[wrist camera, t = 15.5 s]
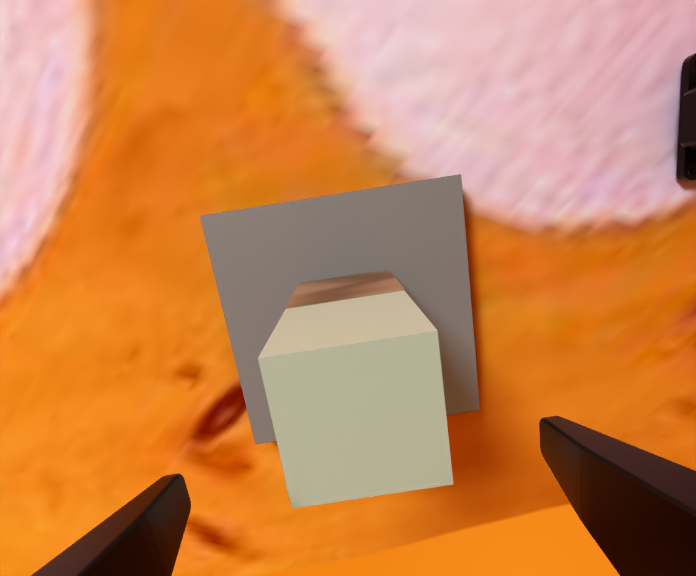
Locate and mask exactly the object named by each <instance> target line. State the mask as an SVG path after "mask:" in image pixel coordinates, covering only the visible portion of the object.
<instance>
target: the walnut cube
mask: <svg viewBox="0 0 696 576" xmlns="http://www.w3.org/2000/svg"><path fill="white" fill-rule="evenodd" d="M398 291H404V288H403V286H402V285H401V284H400V283H399V282H398V281H397V279H396V278H395V277H394V276H393V275H392V273H391V272H390V271H389V270H388V269H386V270H379V271H373V272H366V273H360V274H354V275H347V276H341V277H334V278H328V279H322V280H315V281H309V282H303V283H299V284H298V286H297V288H296V289H295V291H294V293H293V295H292V296H291V298H290V300H289V301H288V303H287V305H286V307H285V308H286V309H288V308H295V307H301V306H308V305H314V304H320V303H327V302H333V301H340V300H346V299H353V298H359V297H365V296H372V295H378V294H385V293H391V292H398Z"/></svg>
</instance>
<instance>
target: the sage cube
mask: <svg viewBox="0 0 696 576" xmlns="http://www.w3.org/2000/svg"><path fill="white" fill-rule="evenodd" d="M258 361H259V366H260V370H261V374H262V379H263V383H264V388H265V392H266V396H267V401H268V405H269V410H270V414H271V419H272V423H273V427H274V432H275V436H276V441H277V445H278V449H279V454H280V458H281V463H282V467H283V472H284V476H285V480H286V485H287V489H288V494H289V498H290V502H291V507H292V508H299V507H305V506H312V505H319V504H325V503H332V502H339V501H345V500H352V499H359V498H366V497H372V496H379V495H386V494H392V493H399V492H406V491H412V490H419V489H426V488H433V487H439V486H446V485H453V475H452V465H451V455H450V446H449V436H448V426H447V417H446V407H445V397H444V388H443V378H442V369H441V359H440V349H439V340H438V330H437V329H436V328H435V327H434V326H433V324H432V323H431V322H430V321H429V320H428V318H427V317H426V316H425V315H424V314H423V312H422V311H421V310H420V309H419V308H418V306H417V305H416V304H415V303H414V301H413V300H412V299H411V298H410V297H409V295H408V294H407V293H406V292H405V291H398V292H391V293H385V294H378V295H372V296H365V297H359V298H353V299H346V300H340V301H333V302H327V303H320V304H314V305H308V306H301V307H295V308H288V309H285V311H284V313H283V315H282V316H281V318H280V320H279V322H278V323H277V325H276V327H275V329H274V331H273V332H272V334H271V336H270V338H269V339H268V341H267V343H266V345H265V346H264V348H263V350H262V352H261V354H260V355H259V357H258Z"/></svg>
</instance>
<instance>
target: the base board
mask: <svg viewBox="0 0 696 576" xmlns="http://www.w3.org/2000/svg"><path fill="white" fill-rule="evenodd" d="M200 218H201V222H202V226H203V230H204V234H205V238H206V242H207V246H208V251H209V255H210V259H211V263H212V267H213V271H214V275H215V279H216V284H217V288H218V292H219V296H220V300H221V304H222V308H223V312H224V316H225V321H226V325H227V329H228V333H229V337H230V341H231V345H232V349H233V354H234V358H235V362H236V366H237V370H238V374H239V378H240V382H241V387H242V391H243V395H244V399H245V403H246V407H247V411H248V415H249V419H250V424H251V428H252V432H253V436H254V440H255V444H261V443H268V442H274V441H276V436H275V432H274V427H273V423H272V419H271V414H270V410H269V405H268V401H267V396H266V392H265V388H264V383H263V379H262V374H261V370H260V366H259V361H258V357H259V355H260V354H261V352H262V350H263V348H264V346H265V345H266V343H267V341H268V339H269V338H270V336H271V334H272V332H273V331H274V329H275V327H276V325H277V323H278V322H279V320H280V318H281V316H282V315H283V313H284V311H285V309H286V308H285V307H286V305H287V303H288V301H289V300H290V298H291V296H292V295H293V293H294V291H295V289H296V288H297V286H298V284H299V283H303V282H309V281H315V280H322V279H328V278H334V277H341V276H347V275H354V274H360V273H366V272H373V271H379V270H386V269H388V270H389V271H390V272H391V273H392V275H393V276H394V277H395V278H396V279H397V281H398V282H399V283H400V284H401V285H402V286H403V288H404V291H405V292H406V293H407V294H408V295H409V297H410V298H411V299H412V300H413V301H414V303H415V304H416V305H417V306H418V308H419V309H420V310H421V311H422V312H423V314H424V315H425V316H426V317H427V318H428V320H429V321H430V322H431V323H432V324H433V326H434V327H435V328H436V329H437V330H438V340H439V349H440V359H441V369H442V378H443V388H444V397H445V407H446V415H452V414H458V413H465V412H472V411H478V410H480V404H479V391H478V379H477V367H476V354H475V342H474V330H473V317H472V305H471V292H470V280H469V268H468V255H467V243H466V230H465V218H464V206H463V193H462V181H461V174H460V175H453V176H447V177H441V178H435V179H428V180H422V181H416V182H410V183H403V184H397V185H391V186H385V187H378V188H372V189H366V190H360V191H353V192H347V193H341V194H335V195H328V196H322V197H316V198H309V199H303V200H297V201H291V202H284V203H278V204H272V205H266V206H259V207H253V208H247V209H241V210H234V211H228V212H222V213H216V214H209V215H203V216H200Z"/></svg>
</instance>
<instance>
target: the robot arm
mask: <svg viewBox="0 0 696 576" xmlns="http://www.w3.org/2000/svg"><path fill="white" fill-rule="evenodd" d="M694 62H696V53H695V54H693V55H691V56H689V57H687V58H686V59H685V61H684V62H683V66H682V82H681V102H680V123H679V144H678V164H677V176H678V178H679V179H680V180H682V181H688V180H696V67H695V65H694ZM689 168H690V174H689V173H688V171H689ZM539 427H540V448H541V452H542V455H543V457H544V459H545V461H546V462H547V464H548V466H549V467H550V469H551V471H552V473H553V474H554V476H555V478H556V479H557V481H558V483H559V485H560V486H561V488H562V490H563V491H564V493H565V495H566V496H567V498H568V500H569V502H570V503H571V505H572V507H573V508H574V510H575V512H576V513H577V515H578V516H579V518H580V519H581V521H582V522H583V524H584V526H585V527H586V528H587V530H588V531H589V533H590V534H591V536H592V537H593V538H594V539H595V541H596V542H597V544H598V545H599V547H600V548H601V549H602V551H603V552H604V554H605V555H606V556H607V558H608V559H609V561H610V562H611V563H612V565H613V566H614V568H615V569H616V570H617V572H618V573H619V575H620V576H696V471H694V470H692V469H689V468H687V467H684V466H682V465H679V464H677V463H674V462H672V461H669V460H667V459H664V458H662V457H659V456H657V455H654V454H652V453H649V452H647V451H644V450H642V449H639V448H637V447H635V446H632V445H630V444H627V443H625V442H622V441H620V440H617V439H615V438H612V437H610V436H607V435H605V434H602V433H600V432H597V431H595V430H592V429H590V428H587V427H585V426H582V425H580V424H577V423H575V422H572V421H570V420H567V419H565V418H562V417H560V416H551V417H545V418H542V419H541V420H540V423H539ZM190 509H191V501H190V497H189V494H188V490H187V487H186V484H185V480H184V478H183V476H182V475H181V474H172V475H166V476H163V477H162V478H160V479H159V480H158V481H156V482H155V483H154V484H152V485H151V486H150V487H148V488H147V489H146V490H144V491H143V492H142V493H140V494H139V495H138V496H136V497H135V498H134V499H132V500H131V501H130V502H128V503H127V504H126V505H124V506H123V507H122V508H120V509H119V510H118V511H116V512H115V513H114V514H112V515H111V516H110V517H108V518H107V519H106V520H104V521H103V522H102V523H100V524H99V525H98V526H96V527H95V528H94V529H92V530H91V531H90V532H88V533H87V534H86V535H84V536H83V537H82V538H80V539H79V540H78V541H76V542H75V543H74V544H72V545H71V546H70V547H68V548H67V549H66V550H64V551H63V552H62V553H60V554H59V555H58V556H56V557H55V558H54V559H52V560H51V561H50V562H48V563H47V564H46V565H45V566H43V567H42V568H41V569H39V570H38V571H37V572H35V573H34V574H33V575H31V576H171V575H172V572H173V569H174V565H175V562H176V558H177V555H178V552H179V548H180V545H181V541H182V538H183V534H184V531H185V527H186V524H187V520H188V517H189V514H190Z"/></svg>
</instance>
